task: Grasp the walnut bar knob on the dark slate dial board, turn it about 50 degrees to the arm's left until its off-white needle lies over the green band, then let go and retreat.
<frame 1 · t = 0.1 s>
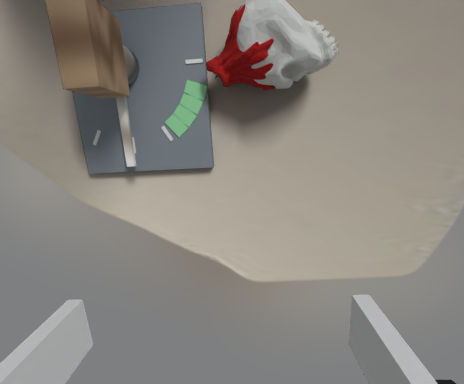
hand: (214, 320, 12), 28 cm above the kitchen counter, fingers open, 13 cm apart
knob: (107, 97, 30), point 6 cm above the kitchen counter, hinge at 0.0°
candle: (261, 59, 34), on the kitchen counter
dial board: (142, 97, 36), on the kitchen counter
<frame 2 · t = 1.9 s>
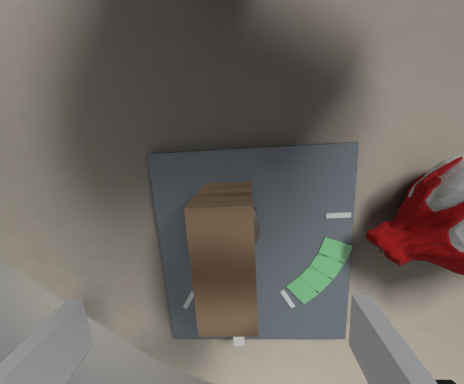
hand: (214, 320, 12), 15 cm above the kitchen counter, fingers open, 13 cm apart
knob: (232, 291, 21), point 6 cm above the kitchen counter, hinge at 0.0°
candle: (427, 206, 25), on the kitchen counter
dial board: (253, 248, 27), on the kitchen counter
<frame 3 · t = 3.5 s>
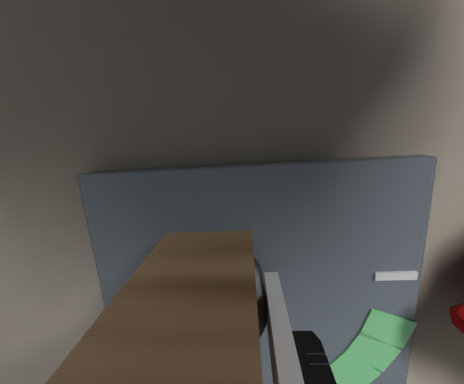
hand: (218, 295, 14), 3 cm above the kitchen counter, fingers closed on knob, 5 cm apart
dial board: (254, 318, 17), on the kitchen counter
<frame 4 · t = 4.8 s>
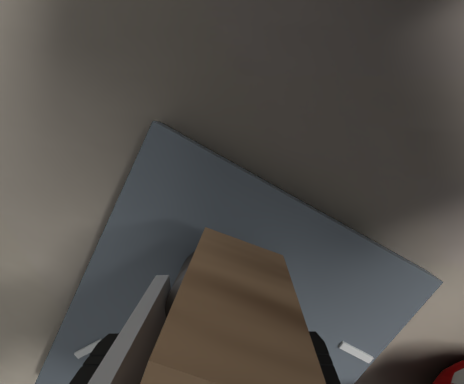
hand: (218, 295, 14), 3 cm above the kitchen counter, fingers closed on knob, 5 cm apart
dial board: (219, 325, 18), on the kitchen counter
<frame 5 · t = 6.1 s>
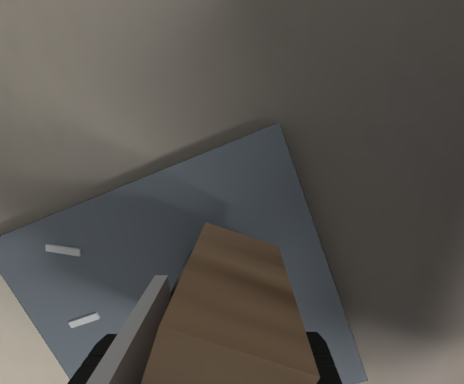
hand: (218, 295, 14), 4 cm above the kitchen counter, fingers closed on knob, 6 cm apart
dial board: (184, 303, 19), on the kitchen counter
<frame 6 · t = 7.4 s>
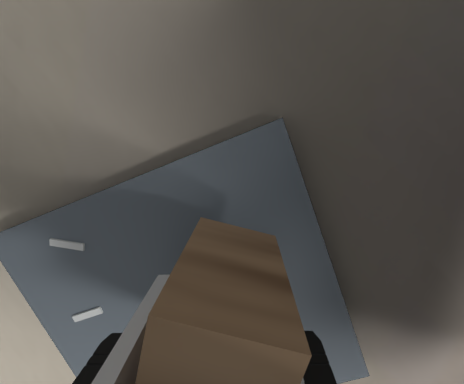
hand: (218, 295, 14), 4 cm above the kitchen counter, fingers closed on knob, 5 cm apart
dial board: (186, 298, 19), on the kitchen counter
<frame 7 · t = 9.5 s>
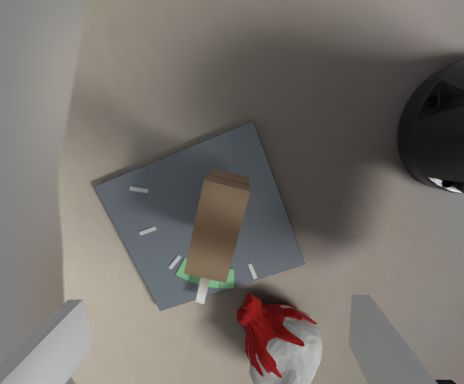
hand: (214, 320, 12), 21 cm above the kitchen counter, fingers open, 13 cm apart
knob: (211, 254, 27), point 6 cm above the kitchen counter, hinge at 54.9°
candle: (274, 318, 36), on the kitchen counter
dial board: (203, 223, 33), on the kitchen counter
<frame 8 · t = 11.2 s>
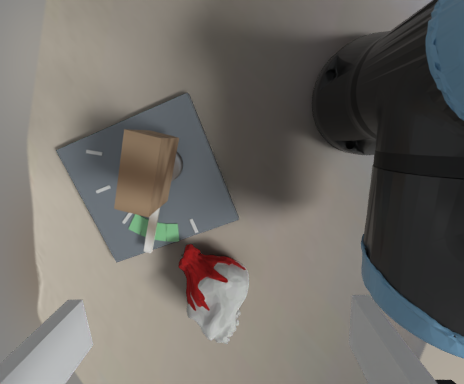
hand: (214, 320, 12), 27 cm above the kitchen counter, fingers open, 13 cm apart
knob: (148, 202, 32), point 6 cm above the kitchen counter, hinge at 54.9°
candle: (217, 271, 41), on the kitchen counter
dial board: (151, 183, 38), on the kitchen counter
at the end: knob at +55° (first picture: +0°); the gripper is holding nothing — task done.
